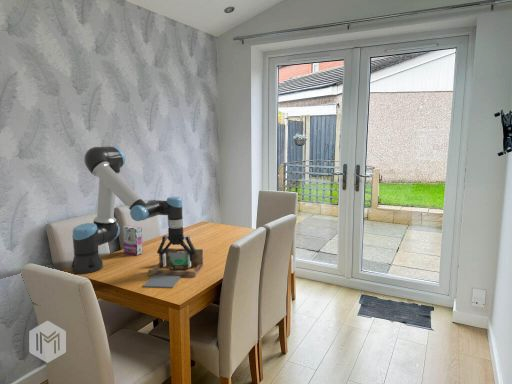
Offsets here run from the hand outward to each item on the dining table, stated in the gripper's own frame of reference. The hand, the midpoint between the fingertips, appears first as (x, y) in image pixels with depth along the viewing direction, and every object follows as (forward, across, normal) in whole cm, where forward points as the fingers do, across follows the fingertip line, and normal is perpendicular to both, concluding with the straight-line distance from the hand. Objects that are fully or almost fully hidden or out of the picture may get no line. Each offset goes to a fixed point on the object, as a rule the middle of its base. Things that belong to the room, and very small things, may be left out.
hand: (177, 266), depth 187 cm
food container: (+2, +2, 0) cm, 3 cm away
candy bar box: (+2, -35, +26) cm, 44 cm away
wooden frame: (+2, 0, 0) cm, 2 cm away
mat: (+2, -2, -16) cm, 16 cm away
